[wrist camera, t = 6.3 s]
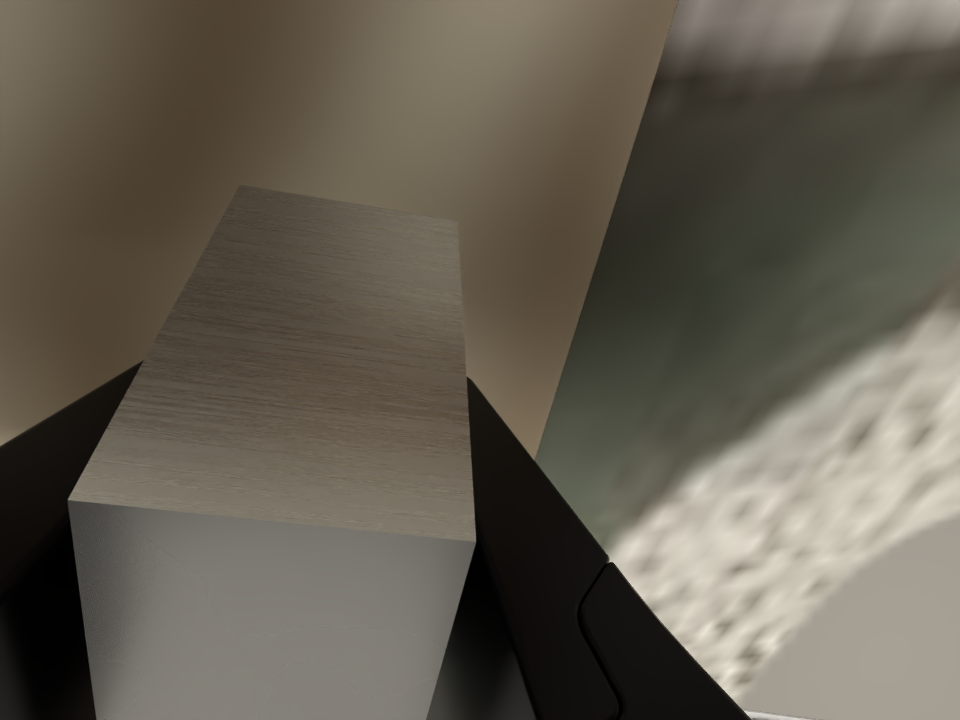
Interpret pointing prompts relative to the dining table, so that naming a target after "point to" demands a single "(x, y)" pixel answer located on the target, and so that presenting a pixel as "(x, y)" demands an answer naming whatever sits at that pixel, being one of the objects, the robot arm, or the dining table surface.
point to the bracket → (286, 477)
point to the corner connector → (771, 715)
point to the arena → (307, 162)
